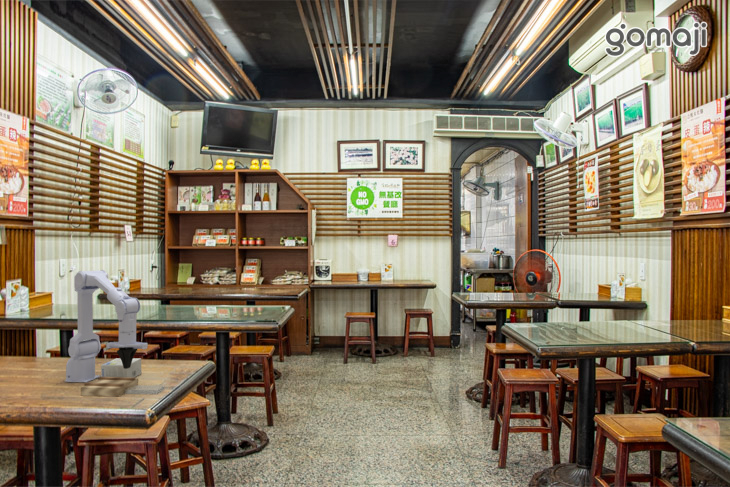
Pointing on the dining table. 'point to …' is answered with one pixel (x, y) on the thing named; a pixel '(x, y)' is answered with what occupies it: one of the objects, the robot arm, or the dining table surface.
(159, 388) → the cover plate
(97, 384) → the slide box
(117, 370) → the light bulb box
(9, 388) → the dining table surface
